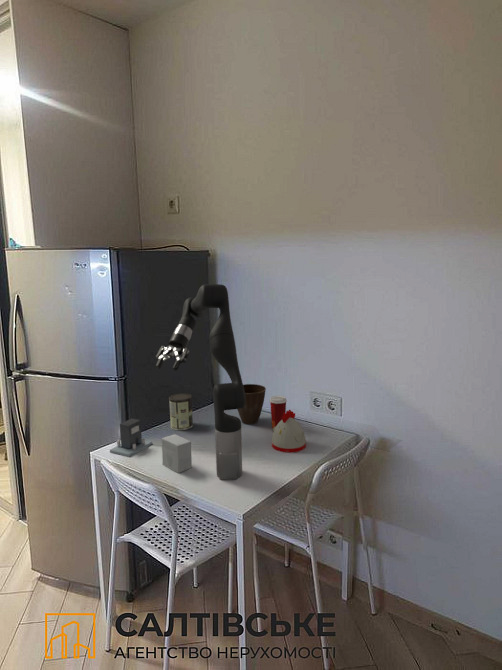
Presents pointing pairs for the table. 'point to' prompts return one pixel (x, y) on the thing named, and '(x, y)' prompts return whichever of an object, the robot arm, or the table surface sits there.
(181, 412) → the coffee can
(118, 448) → the grey peg board
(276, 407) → the paper cup
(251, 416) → the plant pot
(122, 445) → the block
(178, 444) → the skincare box
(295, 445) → the cream and red dome
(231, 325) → the robot arm
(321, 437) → the table surface
